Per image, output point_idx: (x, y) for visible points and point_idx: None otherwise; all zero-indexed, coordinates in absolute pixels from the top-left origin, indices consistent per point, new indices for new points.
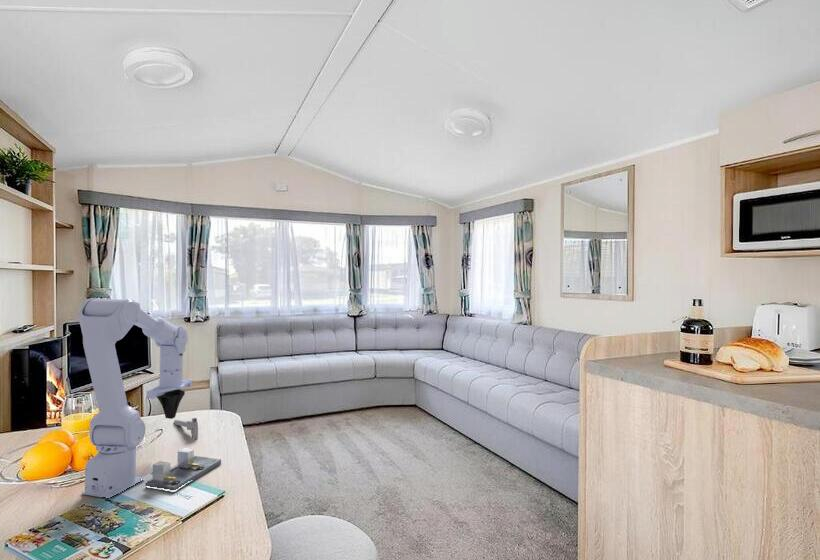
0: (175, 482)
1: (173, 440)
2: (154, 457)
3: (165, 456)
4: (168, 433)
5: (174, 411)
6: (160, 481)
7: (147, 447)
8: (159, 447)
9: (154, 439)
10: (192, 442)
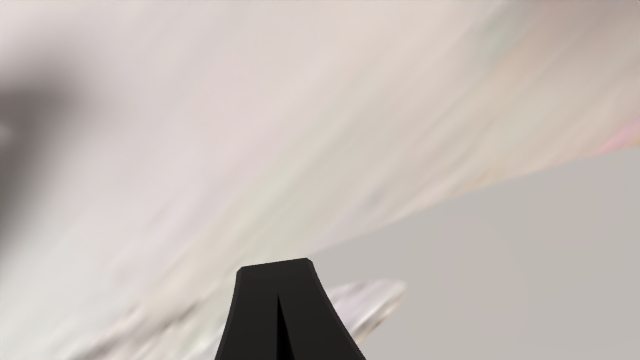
0: None
1: (91, 233)
2: (382, 97)
3: (343, 40)
4: (31, 345)
5: (291, 328)
6: None
7: None
8: (233, 208)
9: (153, 328)
10: (19, 81)
